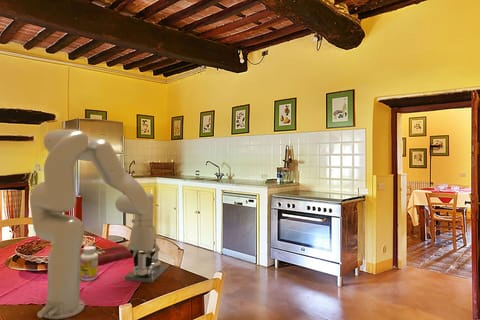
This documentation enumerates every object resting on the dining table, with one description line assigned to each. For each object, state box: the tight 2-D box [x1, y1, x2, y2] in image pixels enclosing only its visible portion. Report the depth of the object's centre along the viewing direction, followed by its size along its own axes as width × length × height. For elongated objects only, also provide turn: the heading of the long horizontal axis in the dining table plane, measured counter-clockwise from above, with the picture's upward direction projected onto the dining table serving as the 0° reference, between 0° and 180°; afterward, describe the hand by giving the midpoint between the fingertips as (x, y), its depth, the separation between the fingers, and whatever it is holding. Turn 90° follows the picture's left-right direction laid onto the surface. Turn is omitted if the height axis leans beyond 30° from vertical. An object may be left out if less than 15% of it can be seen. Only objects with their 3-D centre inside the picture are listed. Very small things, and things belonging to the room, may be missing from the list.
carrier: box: [124, 251, 170, 284], centre depth 147 cm, size 19×12×8 cm, turn 172°
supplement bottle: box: [80, 245, 99, 282], centre depth 139 cm, size 7×7×13 cm
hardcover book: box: [81, 244, 134, 266], centre depth 165 cm, size 12×21×4 cm, turn 135°
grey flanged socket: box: [132, 251, 152, 275], centre depth 142 cm, size 8×8×8 cm
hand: (142, 265), depth 142 cm, fingers closed on grey flanged socket, 4 cm apart
